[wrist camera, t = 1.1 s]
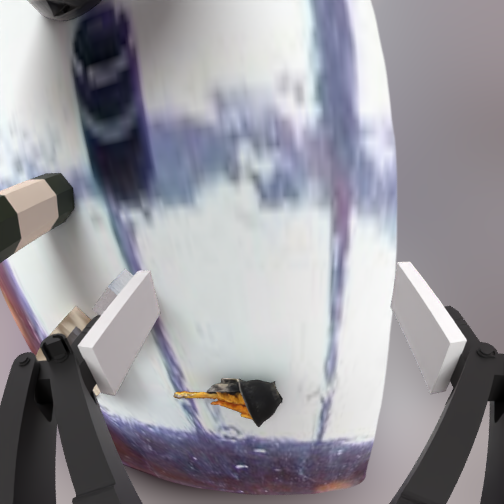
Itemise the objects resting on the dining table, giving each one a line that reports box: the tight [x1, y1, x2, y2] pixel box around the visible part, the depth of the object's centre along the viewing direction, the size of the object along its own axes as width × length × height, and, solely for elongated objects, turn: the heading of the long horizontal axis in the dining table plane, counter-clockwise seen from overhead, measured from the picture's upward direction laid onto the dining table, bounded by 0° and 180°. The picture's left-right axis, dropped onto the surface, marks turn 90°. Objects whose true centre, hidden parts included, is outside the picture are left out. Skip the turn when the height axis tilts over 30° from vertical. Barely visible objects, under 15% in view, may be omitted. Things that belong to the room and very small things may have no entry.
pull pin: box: [92, 269, 133, 315], centre depth 42 cm, size 5×26×5 cm, turn 136°
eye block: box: [36, 306, 100, 396], centre depth 47 cm, size 12×9×12 cm
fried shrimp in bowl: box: [174, 378, 282, 427], centre depth 49 cm, size 9×11×18 cm
